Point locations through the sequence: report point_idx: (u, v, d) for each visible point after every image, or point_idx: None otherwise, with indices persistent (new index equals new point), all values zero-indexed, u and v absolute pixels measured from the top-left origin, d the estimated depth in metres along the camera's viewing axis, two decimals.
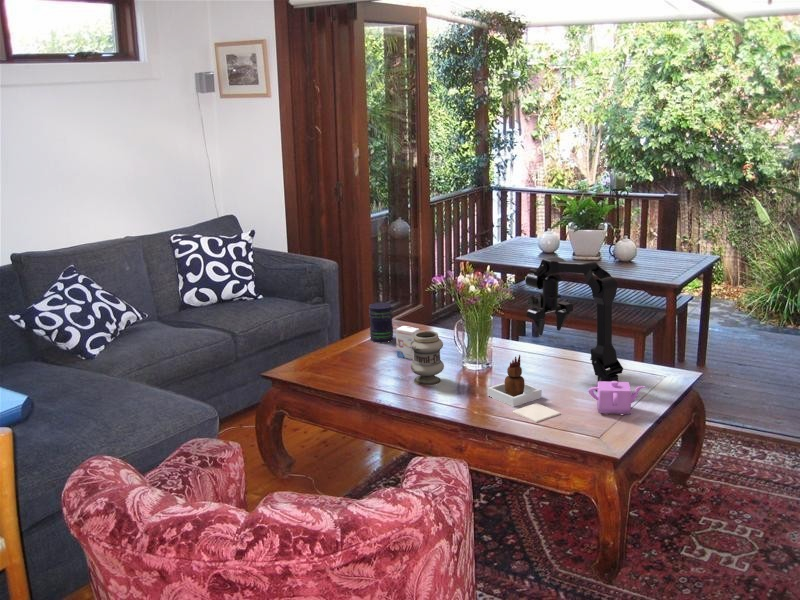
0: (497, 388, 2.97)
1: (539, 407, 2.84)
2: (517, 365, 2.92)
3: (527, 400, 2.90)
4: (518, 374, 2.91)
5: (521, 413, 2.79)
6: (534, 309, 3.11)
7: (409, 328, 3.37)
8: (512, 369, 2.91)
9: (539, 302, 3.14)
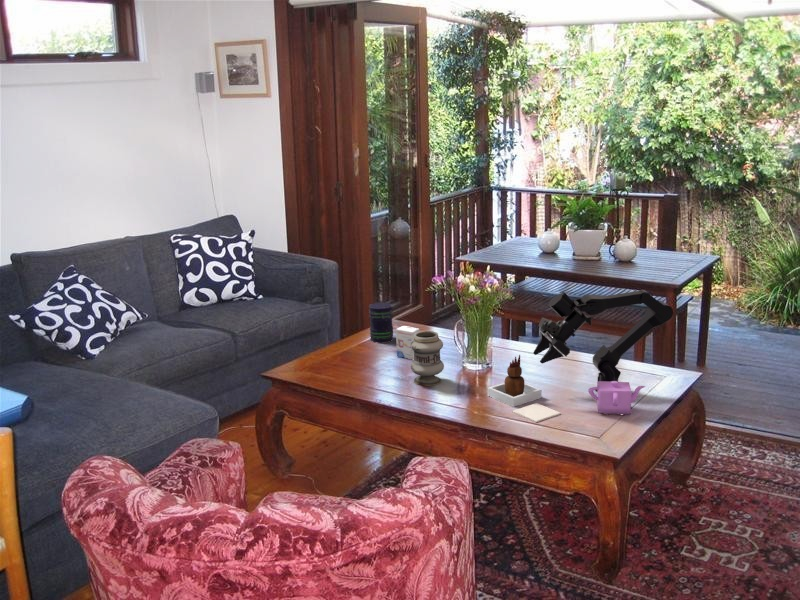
0: (497, 388, 2.97)
1: (539, 407, 2.84)
2: (517, 365, 2.92)
3: (527, 400, 2.90)
4: (518, 374, 2.91)
5: (521, 413, 2.79)
6: None
7: (409, 328, 3.37)
8: (512, 369, 2.91)
9: (558, 331, 2.88)
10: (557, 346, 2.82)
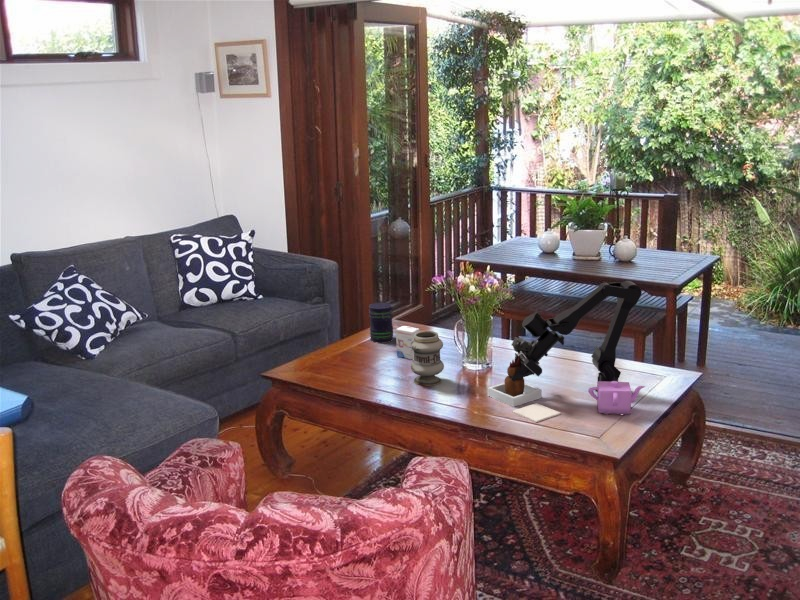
0: (497, 388, 2.97)
1: (539, 407, 2.84)
2: (517, 365, 2.92)
3: (527, 400, 2.90)
4: None
5: (521, 413, 2.79)
6: (534, 362, 2.85)
7: (409, 328, 3.37)
8: (512, 368, 2.91)
9: (531, 351, 2.89)
10: (529, 366, 2.83)
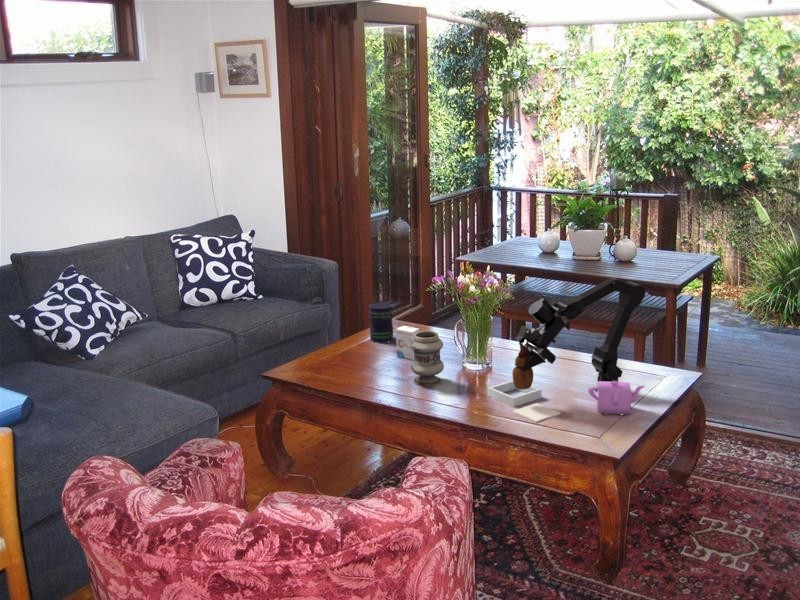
0: (497, 388, 2.97)
1: (539, 407, 2.84)
2: (525, 355, 2.83)
3: (527, 400, 2.90)
4: None
5: (521, 413, 2.79)
6: None
7: (409, 328, 3.37)
8: (522, 359, 2.82)
9: (540, 339, 2.81)
10: (544, 354, 2.75)
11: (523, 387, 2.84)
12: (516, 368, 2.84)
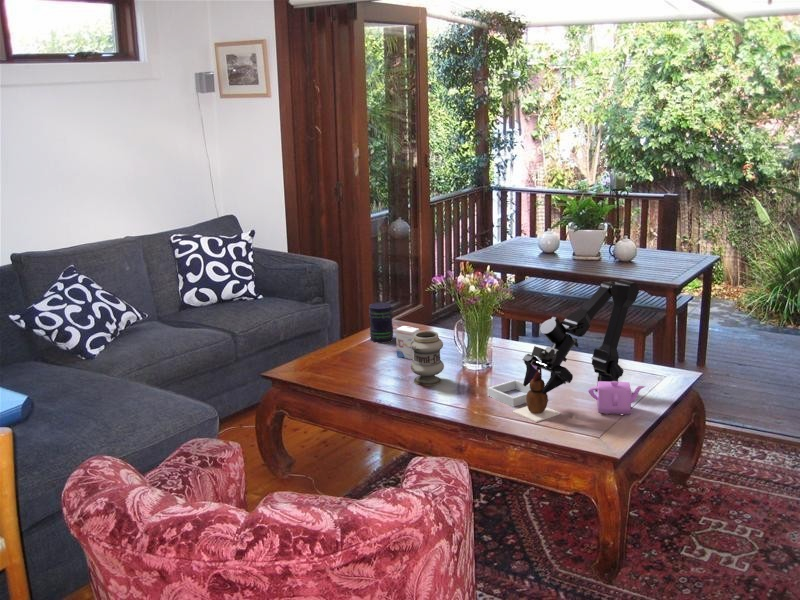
0: (497, 388, 2.97)
1: None
2: (539, 378, 2.78)
3: None
4: (543, 387, 2.77)
5: (521, 413, 2.79)
6: None
7: (409, 328, 3.37)
8: (538, 382, 2.76)
9: (554, 358, 2.76)
10: (564, 374, 2.71)
11: (539, 411, 2.78)
12: (531, 392, 2.77)
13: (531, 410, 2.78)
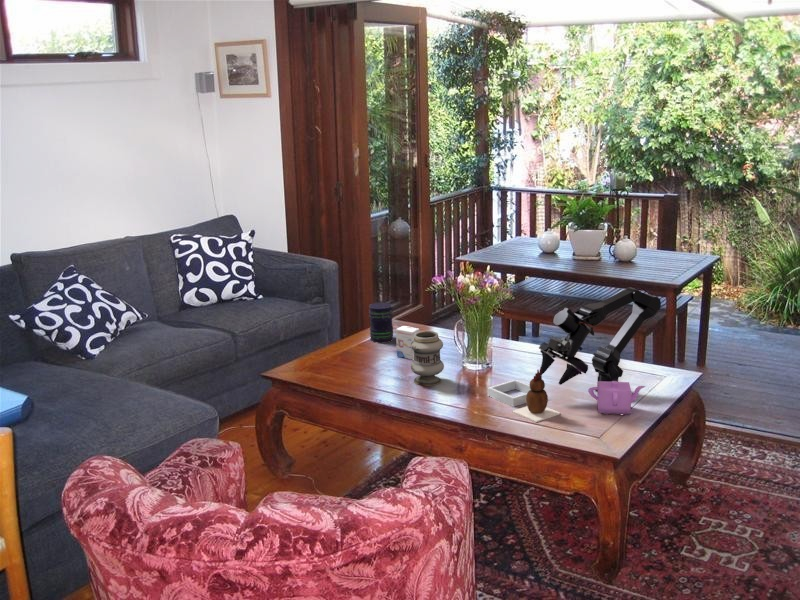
0: (497, 388, 2.97)
1: None
2: (539, 378, 2.78)
3: None
4: (543, 387, 2.77)
5: (521, 413, 2.79)
6: None
7: (409, 328, 3.37)
8: (538, 382, 2.76)
9: (570, 349, 2.82)
10: (579, 366, 2.77)
11: (539, 411, 2.78)
12: (531, 392, 2.77)
13: (531, 410, 2.78)
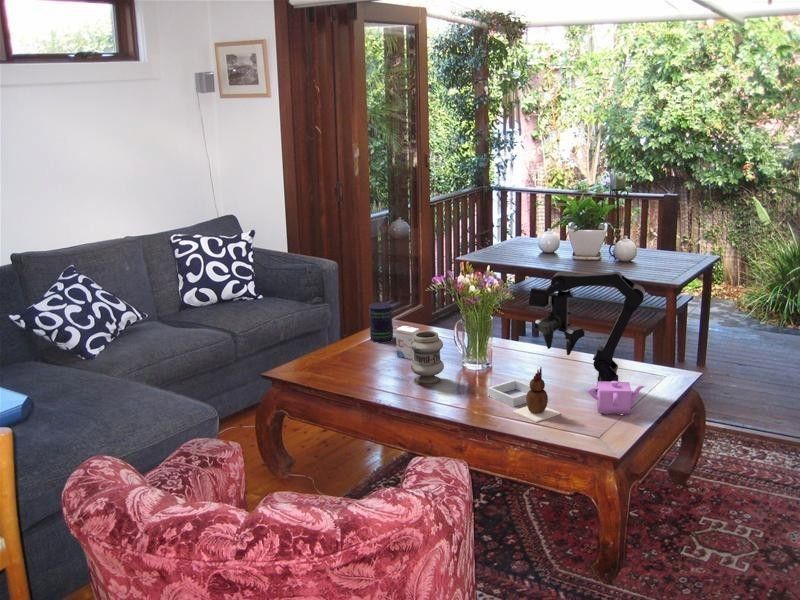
0: (497, 388, 2.97)
1: None
2: (539, 378, 2.78)
3: None
4: (543, 387, 2.77)
5: (521, 413, 2.79)
6: (573, 329, 2.91)
7: (409, 328, 3.37)
8: (538, 382, 2.76)
9: (560, 323, 2.93)
10: (575, 337, 2.90)
11: (539, 411, 2.78)
12: (531, 392, 2.77)
13: (531, 410, 2.78)
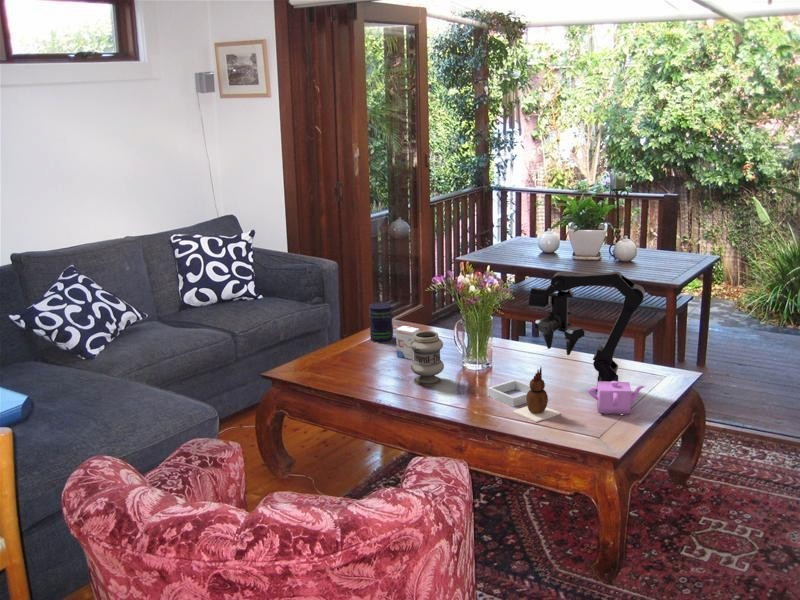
0: (497, 388, 2.97)
1: None
2: (539, 378, 2.78)
3: None
4: (543, 387, 2.77)
5: (521, 413, 2.79)
6: (573, 329, 2.92)
7: (409, 328, 3.37)
8: (538, 382, 2.76)
9: (560, 323, 2.94)
10: (575, 337, 2.90)
11: (539, 411, 2.78)
12: (531, 392, 2.77)
13: (531, 410, 2.78)
